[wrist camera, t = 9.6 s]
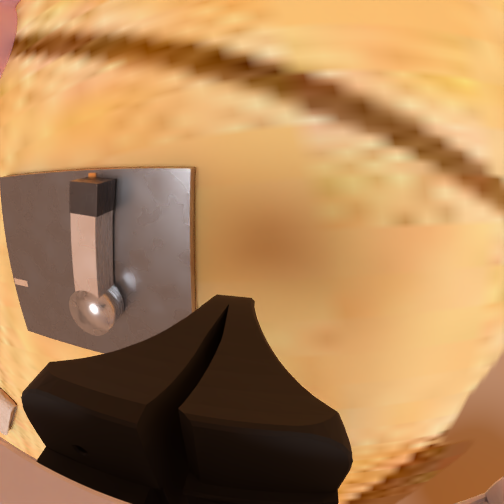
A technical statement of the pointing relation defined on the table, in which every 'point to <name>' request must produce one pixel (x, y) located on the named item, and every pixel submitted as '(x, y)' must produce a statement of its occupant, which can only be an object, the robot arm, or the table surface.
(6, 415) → the washcloth
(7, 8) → the clip
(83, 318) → the lever
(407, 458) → the table surface
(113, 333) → the plate
